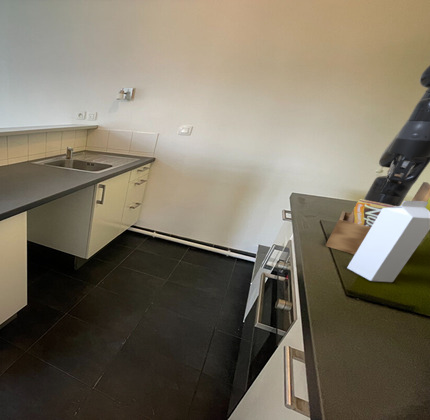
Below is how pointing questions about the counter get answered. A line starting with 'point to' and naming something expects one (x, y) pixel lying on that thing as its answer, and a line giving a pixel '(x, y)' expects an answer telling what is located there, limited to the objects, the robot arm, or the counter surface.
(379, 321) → the counter surface
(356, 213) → the candy box
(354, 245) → the bread box
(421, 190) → the lid
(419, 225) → the milk
